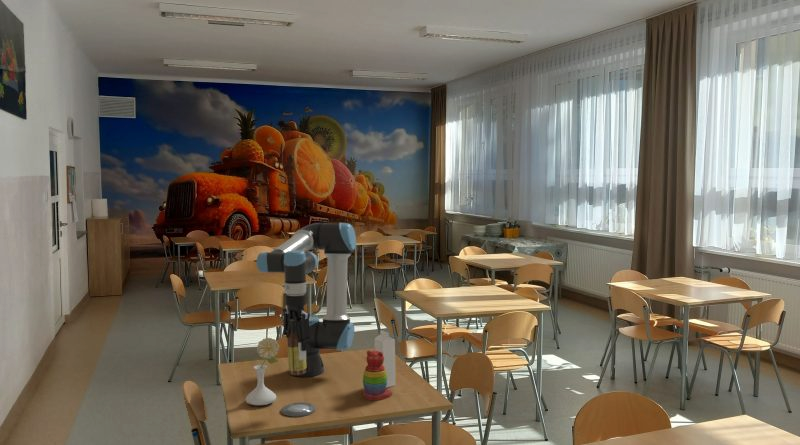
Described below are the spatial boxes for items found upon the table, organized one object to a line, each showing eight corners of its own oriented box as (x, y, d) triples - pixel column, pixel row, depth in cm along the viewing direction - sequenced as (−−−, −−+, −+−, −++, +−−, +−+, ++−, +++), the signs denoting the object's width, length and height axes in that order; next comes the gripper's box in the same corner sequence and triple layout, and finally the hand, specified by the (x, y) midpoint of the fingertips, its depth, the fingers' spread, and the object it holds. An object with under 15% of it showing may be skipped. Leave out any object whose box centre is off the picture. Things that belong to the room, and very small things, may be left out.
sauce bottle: (309, 371, 232) (308, 317, 231) (301, 376, 226) (300, 321, 225) (293, 369, 234) (292, 316, 233) (285, 374, 228) (284, 320, 227)
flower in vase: (241, 408, 235) (239, 341, 233) (250, 397, 246) (248, 333, 244) (276, 408, 234) (275, 341, 232) (284, 397, 245) (282, 333, 243)
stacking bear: (394, 394, 248) (393, 349, 247) (382, 402, 239) (381, 355, 237) (369, 390, 253) (369, 345, 251) (357, 398, 244) (356, 352, 242)
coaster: (275, 410, 232) (275, 408, 232) (302, 402, 240) (302, 399, 240) (293, 419, 223) (293, 417, 223) (321, 410, 231) (321, 408, 231)
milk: (383, 388, 254) (382, 334, 252) (374, 384, 259) (373, 331, 257) (395, 385, 258) (395, 331, 256) (387, 381, 263) (386, 328, 261)
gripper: (272, 291, 233) (273, 354, 234) (301, 299, 219) (303, 365, 220) (289, 289, 238) (291, 350, 239) (319, 296, 224) (321, 360, 225)
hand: (297, 357), depth 230 cm, fingers closed on sauce bottle, 6 cm apart
